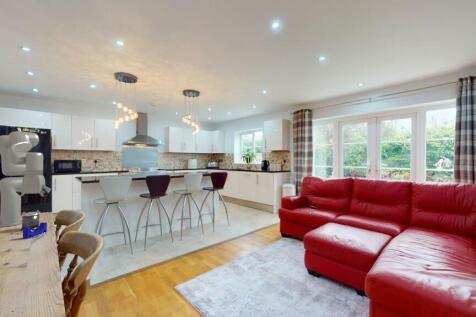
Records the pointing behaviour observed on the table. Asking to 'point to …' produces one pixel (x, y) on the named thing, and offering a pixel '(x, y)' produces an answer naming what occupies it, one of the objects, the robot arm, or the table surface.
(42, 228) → the cable clip
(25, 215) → the motor
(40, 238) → the table surface
